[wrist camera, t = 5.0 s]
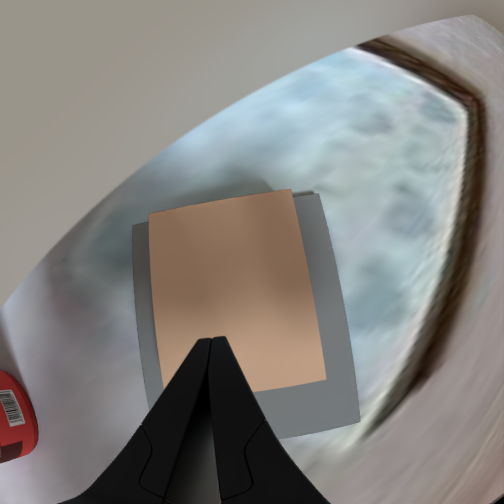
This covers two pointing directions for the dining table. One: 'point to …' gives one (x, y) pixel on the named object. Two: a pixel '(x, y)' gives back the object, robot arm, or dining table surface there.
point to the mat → (330, 328)
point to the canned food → (15, 420)
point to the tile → (236, 287)
